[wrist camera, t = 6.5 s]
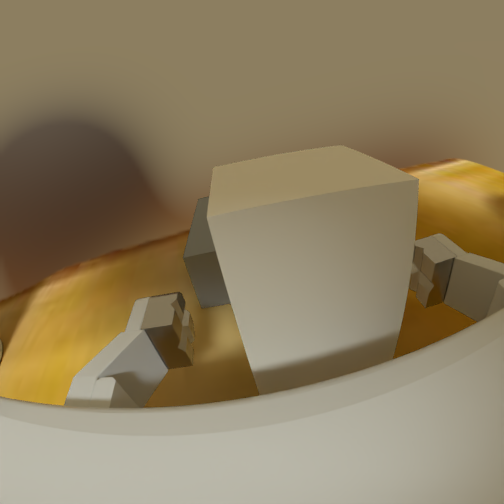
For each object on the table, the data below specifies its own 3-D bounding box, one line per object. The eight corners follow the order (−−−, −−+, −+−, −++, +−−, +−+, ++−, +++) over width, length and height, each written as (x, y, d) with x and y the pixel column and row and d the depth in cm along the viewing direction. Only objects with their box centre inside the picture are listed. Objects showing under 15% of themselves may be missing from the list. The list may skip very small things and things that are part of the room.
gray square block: (317, 217, 26) (313, 175, 24) (361, 279, 17) (362, 220, 15) (209, 239, 26) (198, 198, 24) (203, 312, 17) (182, 257, 15)
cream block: (345, 345, 13) (341, 145, 8) (375, 413, 9) (418, 178, 5) (262, 364, 13) (213, 167, 8) (275, 440, 9) (206, 217, 5)
